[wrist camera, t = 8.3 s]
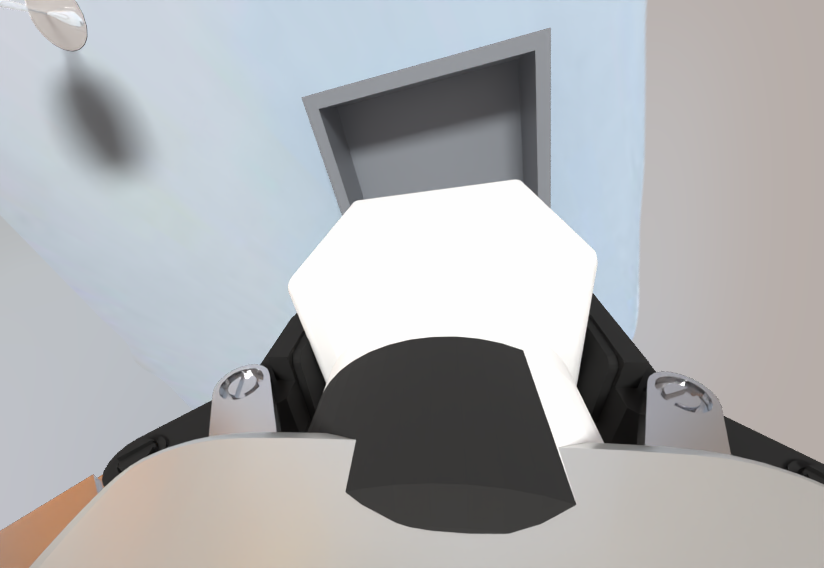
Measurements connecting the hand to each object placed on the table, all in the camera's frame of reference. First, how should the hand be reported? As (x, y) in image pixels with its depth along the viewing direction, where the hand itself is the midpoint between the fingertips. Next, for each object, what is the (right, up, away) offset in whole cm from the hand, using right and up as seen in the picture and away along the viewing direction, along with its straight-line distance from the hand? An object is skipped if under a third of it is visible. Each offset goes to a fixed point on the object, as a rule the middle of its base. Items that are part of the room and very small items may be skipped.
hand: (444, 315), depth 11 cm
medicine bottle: (0, +2, +3) cm, 4 cm away
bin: (+2, +12, +20) cm, 24 cm away
